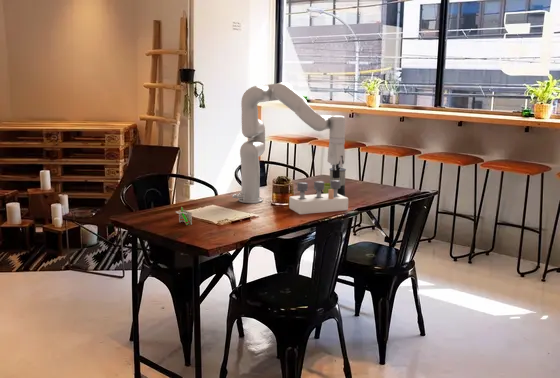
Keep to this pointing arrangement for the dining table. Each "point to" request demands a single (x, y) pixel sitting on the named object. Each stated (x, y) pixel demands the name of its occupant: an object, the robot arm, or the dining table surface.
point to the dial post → (330, 193)
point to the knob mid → (319, 187)
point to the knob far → (335, 186)
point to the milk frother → (342, 179)
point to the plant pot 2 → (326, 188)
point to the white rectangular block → (318, 204)
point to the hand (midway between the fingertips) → (336, 177)
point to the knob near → (302, 189)
